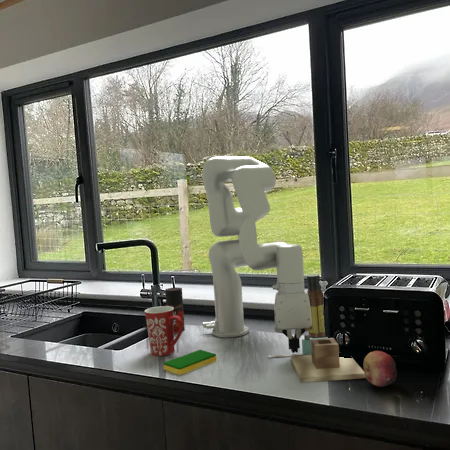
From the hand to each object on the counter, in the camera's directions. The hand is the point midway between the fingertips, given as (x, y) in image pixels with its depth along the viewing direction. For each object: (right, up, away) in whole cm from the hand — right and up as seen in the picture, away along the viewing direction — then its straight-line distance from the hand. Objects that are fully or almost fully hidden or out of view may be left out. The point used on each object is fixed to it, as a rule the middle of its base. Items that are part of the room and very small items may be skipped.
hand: (294, 351), depth 139 cm
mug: (-38, -3, +10) cm, 39 cm away
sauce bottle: (+10, 0, +18) cm, 21 cm away
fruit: (+17, -2, -25) cm, 30 cm away
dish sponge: (-29, -4, -2) cm, 30 cm away
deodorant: (-37, -2, +35) cm, 51 cm away
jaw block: (+6, 0, -12) cm, 13 cm away
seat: (+3, -2, -9) cm, 10 cm away
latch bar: (+6, -1, 0) cm, 7 cm away
